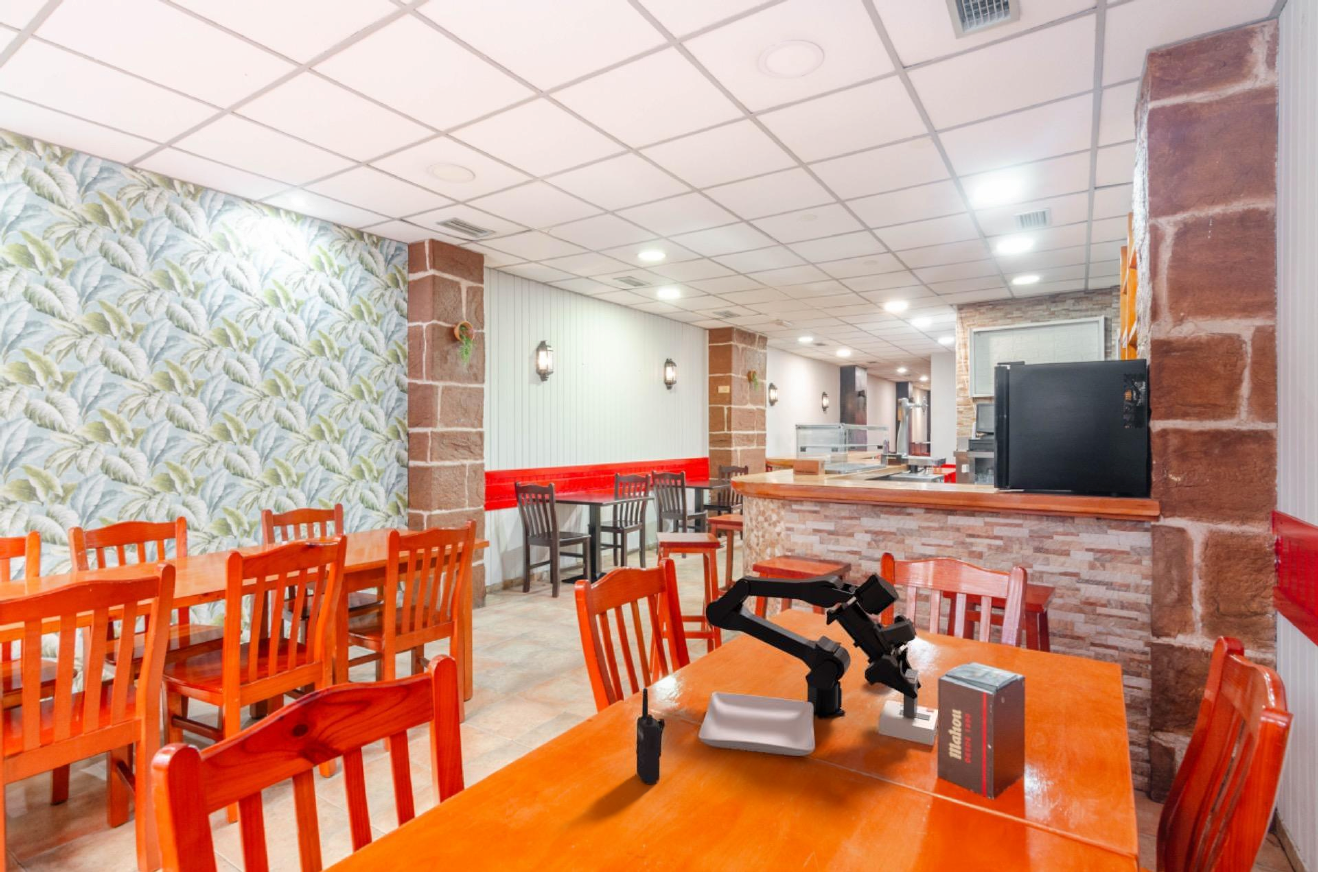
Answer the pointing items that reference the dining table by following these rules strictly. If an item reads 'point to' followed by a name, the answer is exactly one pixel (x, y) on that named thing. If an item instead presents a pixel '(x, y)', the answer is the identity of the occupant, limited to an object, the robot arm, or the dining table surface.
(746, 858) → the dining table surface
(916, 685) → the breaker toggle
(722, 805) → the dining table surface
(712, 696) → the salad plate
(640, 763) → the two-way radio
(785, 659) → the dining table surface
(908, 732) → the block
